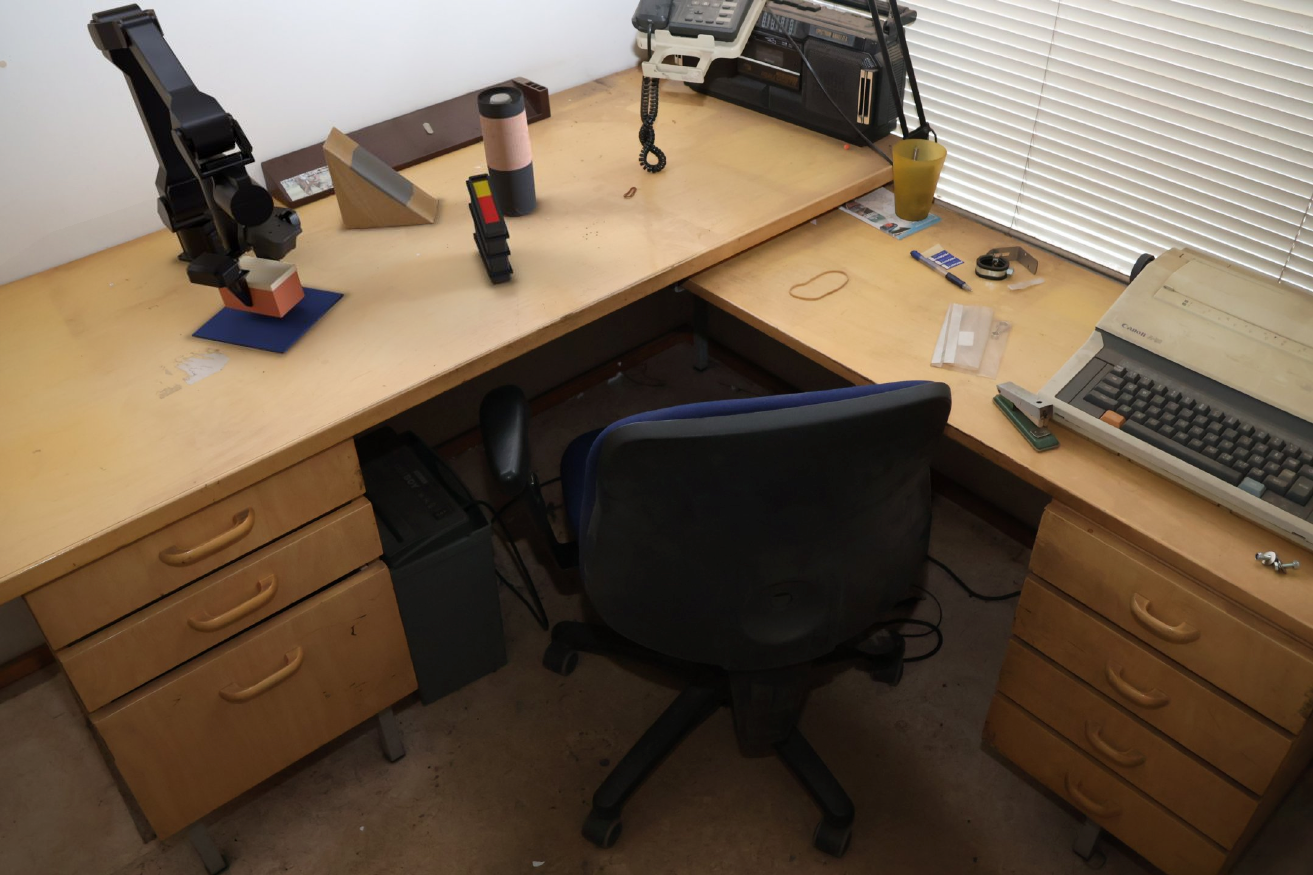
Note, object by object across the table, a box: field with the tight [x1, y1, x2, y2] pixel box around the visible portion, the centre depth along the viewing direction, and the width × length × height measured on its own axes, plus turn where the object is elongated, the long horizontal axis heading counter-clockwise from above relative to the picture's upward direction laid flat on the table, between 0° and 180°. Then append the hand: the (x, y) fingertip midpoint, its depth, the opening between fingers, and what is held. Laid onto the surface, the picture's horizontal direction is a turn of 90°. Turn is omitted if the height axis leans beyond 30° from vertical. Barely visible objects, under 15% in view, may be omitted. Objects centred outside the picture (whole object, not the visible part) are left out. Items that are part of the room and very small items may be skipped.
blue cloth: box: [191, 286, 345, 355], centre depth 152 cm, size 16×16×1 cm
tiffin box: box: [217, 255, 305, 317], centre depth 149 cm, size 10×6×6 cm, turn 71°
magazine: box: [465, 172, 514, 285], centre depth 156 cm, size 4×13×15 cm
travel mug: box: [476, 85, 537, 218], centre depth 169 cm, size 8×8×20 cm
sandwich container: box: [322, 126, 439, 230], centre depth 170 cm, size 9×15×15 cm, turn 93°
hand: (262, 295), depth 150 cm, fingers closed on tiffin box, 6 cm apart
